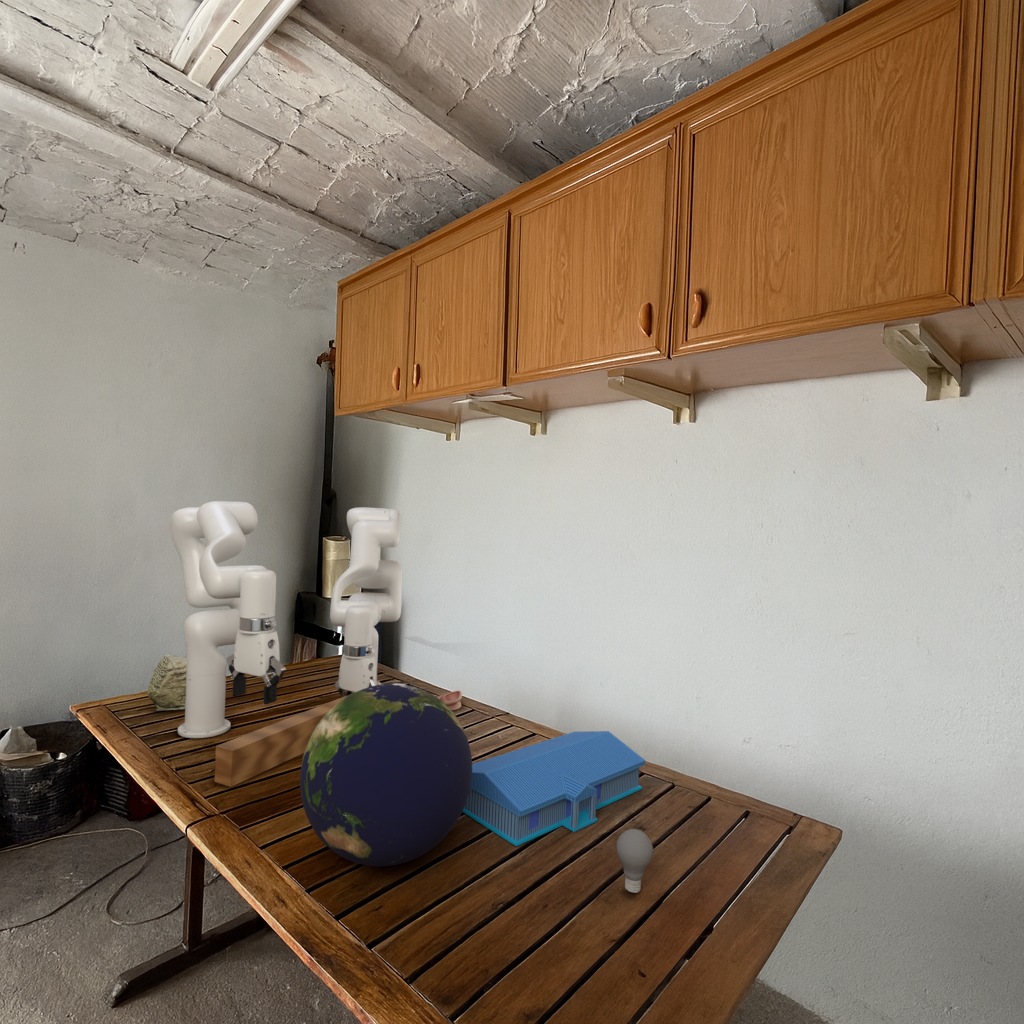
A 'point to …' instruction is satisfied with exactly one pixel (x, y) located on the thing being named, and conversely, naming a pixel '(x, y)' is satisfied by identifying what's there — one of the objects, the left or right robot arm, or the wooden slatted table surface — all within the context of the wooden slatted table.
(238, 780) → the post
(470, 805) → the model building
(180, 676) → the fossil
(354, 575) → the right robot arm
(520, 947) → the wooden slatted table surface
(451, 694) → the anatomical model
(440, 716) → the globe
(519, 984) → the wooden slatted table surface
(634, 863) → the light bulb
